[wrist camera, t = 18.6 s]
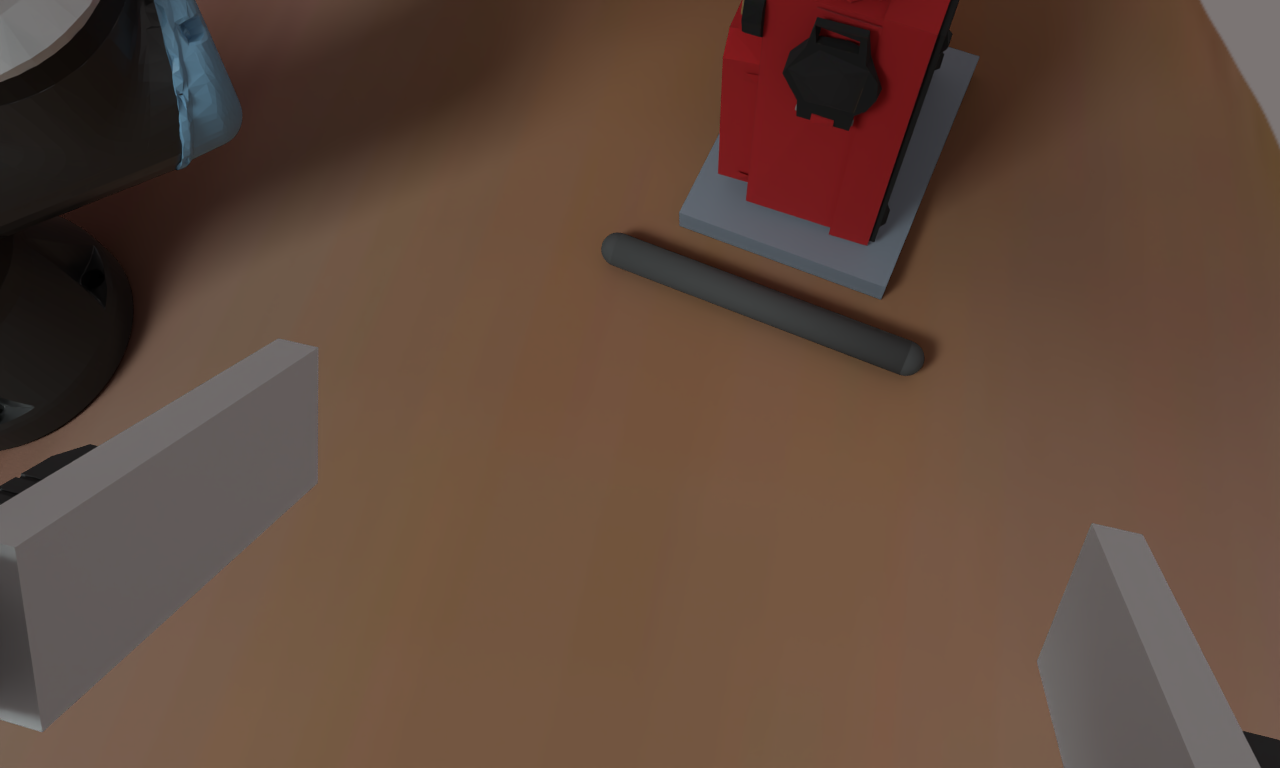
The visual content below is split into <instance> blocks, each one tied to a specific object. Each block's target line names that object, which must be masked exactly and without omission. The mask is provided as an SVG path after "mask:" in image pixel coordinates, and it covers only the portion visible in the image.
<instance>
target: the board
mask: <svg viewBox="0 0 1280 768" xmlns="http://www.w3.org/2000/svg"><path fill="white" fill-rule="evenodd" d="M943 53H944V58H943V61H942V64H941V67H940V69H937V70H935V71H934V74H933V77H932V80H931V83H930V85H929V88H928V91H927V94H926V97H925V100H924V103H923V105H922V108H921V111H920V114H919V117H918V120H917V122H916V125H915V128H914V131H913V134H912V137H911V139H910V142H909V145H908V148H907V151H906V154H905V157H904V159H903V162H902V165H901V168H900V171H899V174H898V176H897V179H896V182H895V185H894V188H893V191H892V194H891V196H890V199H889V202H888V206H889V209H890V212H889V215H888V218H887V221H886V224H884V225H882V226H880V228H879V230H878V233H877V236H876V239H875V242H871V241H869V242H868V245H867V246H866V245H862V244H859V243H856V242H852V241H849V240H846V239H842V238H839V237H836V236H832V235H829V231H830V227H827V226H823V225H820V224H817V223H814V222H811V221H808V220H805V219H801V218H798V217H795V216H792V215H789V214H786V213H783V212H780V211H776V210H773V209H770V208H767V207H764V206H761V205H758V204H755V203H751V202H748V201H746V194H747V184H748V182H745V181H741V180H738V179H734V178H731V177H727V176H724V175H721V174H718V161H719V138H720V133H719V135H718V137H717V139H716V141H715V143H714V145H713V147H712V149H711V151H710V153H709V155H708V157H707V159H706V161H705V163H704V165H703V167H702V169H701V171H700V173H699V175H698V177H697V179H696V181H695V183H694V185H693V187H692V189H691V191H690V193H689V195H688V196H687V198H686V200H685V202H684V204H683V206H682V208H681V210H680V212H679V222H680V226H682V227H684V228H687V229H690V230H693V231H695V232H698V233H701V234H704V235H706V236H709V237H712V238H714V239H717V240H720V241H723V242H725V243H728V244H731V245H733V246H736V247H739V248H742V249H744V250H747V251H750V252H753V253H755V254H758V255H761V256H763V257H766V258H769V259H772V260H774V261H777V262H780V263H783V264H785V265H788V266H791V267H793V268H796V269H799V270H802V271H804V272H807V273H810V274H813V275H815V276H818V277H821V278H823V279H826V280H829V281H832V282H834V283H837V284H840V285H843V286H845V287H848V288H851V289H853V290H856V291H859V292H862V293H864V294H867V295H870V296H872V297H875V298H878V299H881V298H882V296H883V293H884V291H885V288H886V286H887V283H888V281H889V279H890V276H891V274H892V271H893V269H894V266H895V264H896V261H897V259H898V256H899V254H900V252H901V249H902V247H903V244H904V242H905V239H906V237H907V234H908V232H909V229H910V227H911V224H912V222H913V220H914V217H915V215H916V212H917V210H918V207H919V205H920V202H921V200H922V197H923V195H924V192H925V190H926V188H927V185H928V183H929V180H930V178H931V175H932V173H933V170H934V168H935V165H936V163H937V161H938V158H939V156H940V153H941V151H942V148H943V146H944V143H945V141H946V138H947V136H948V133H949V131H950V129H951V126H952V124H953V121H954V119H955V116H956V114H957V111H958V109H959V106H960V104H961V101H962V99H963V97H964V94H965V92H966V89H967V87H968V84H969V82H970V79H971V77H972V74H973V72H974V70H975V67H976V65H977V62H978V60H979V57H980V56H977V55H973V54H970V53H967V52H964V51H960V50H957V49H954V48H951V47H948V48H947V50H945V51H944V52H943Z"/></svg>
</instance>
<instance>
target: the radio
mask: <svg viewBox="0 0 1280 768" xmlns="http://www.w3.org/2000/svg"><path fill="white" fill-rule="evenodd" d="M958 2H959V0H742V1H741V3H740V6H739V8H738V10H737V12H736V15H735V17H734V19H733V21H732V23H731V26H730V29H729V33H728V38H727V42H726V46H725V51H724V55H723V68H722V91H721V114H720V138H719V161H718V174H721V175H724V176H727V177H731V178H734V179H738V180H741V181H745V182H748V184H747V194H746V201H748V202H751V203H755V204H758V205H761V206H764V207H767V208H770V209H773V210H776V211H780V212H783V213H786V214H789V215H792V216H795V217H798V218H801V219H805V220H808V221H811V222H814V223H817V224H820V225H823V226H827V227H830V231H829V235H832V236H836V237H839V238H842V239H846V240H849V241H852V242H856V243H859V244H862V245H866V246H867V245H868V242H869V241H871V242H875V239H876V236H877V233H878V230H879V228H880V226H882V225H884V224H886V221H887V218H888V215H889V212H890V209H889V206H888V202H889V199H890V196H891V194H892V191H893V188H894V185H895V182H896V179H897V176H898V174H899V171H900V168H901V165H902V162H903V159H904V157H905V154H906V151H907V148H908V145H909V142H910V139H911V137H912V134H913V131H914V128H915V125H916V122H917V120H918V117H919V114H920V111H921V108H922V105H923V103H924V100H925V97H926V94H927V91H928V88H929V85H930V83H931V80H932V77H933V74H934V71H935V70H937V69H940V67H941V64H942V61H943V58H944V53H943V52H944V51H945V50H947V48H948V46H949V43H950V40H951V37H952V33H951V32H950V30H949V28H950V25H951V22H952V20H953V17H954V14H955V11H956V8H957V5H958Z"/></svg>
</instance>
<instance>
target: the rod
mask: <svg viewBox="0 0 1280 768" xmlns="http://www.w3.org/2000/svg"><path fill="white" fill-rule="evenodd" d="M601 251H602V255H603V257H604V259H605V260H606V261H607V262H608V263H609V264H611V265H613V266H616V267H619V268H621V269H624V270H626V271H629V272H632V273H634V274H637V275H640V276H642V277H645V278H647V279H650V280H653V281H655V282H658V283H661V284H663V285H666V286H668V287H671V288H674V289H676V290H679V291H681V292H684V293H687V294H689V295H692V296H695V297H697V298H700V299H702V300H705V301H708V302H710V303H713V304H716V305H718V306H721V307H723V308H726V309H729V310H731V311H734V312H737V313H739V314H742V315H744V316H747V317H750V318H752V319H755V320H758V321H760V322H763V323H765V324H768V325H771V326H773V327H776V328H778V329H781V330H784V331H786V332H789V333H792V334H794V335H797V336H799V337H802V338H805V339H807V340H810V341H813V342H815V343H818V344H820V345H823V346H826V347H828V348H831V349H834V350H836V351H839V352H841V353H844V354H847V355H849V356H852V357H854V358H857V359H860V360H862V361H865V362H868V363H870V364H873V365H875V366H878V367H881V368H883V369H886V370H889V371H891V372H894V373H896V374H899V375H903V376H908V375H912V374H915V373H916V372H918V371H919V370H920V369H921V367H922V365H923V363H924V353H923V351H922V349H921V347H920V346H919V345H918V344H916V343H914V342H912V341H910V340H907V339H904V338H902V337H899V336H896V335H894V334H891V333H888V332H886V331H883V330H880V329H878V328H875V327H872V326H870V325H867V324H864V323H862V322H859V321H856V320H854V319H851V318H848V317H846V316H843V315H840V314H837V313H835V312H832V311H829V310H827V309H824V308H821V307H819V306H816V305H813V304H811V303H808V302H805V301H803V300H800V299H797V298H795V297H792V296H789V295H787V294H784V293H781V292H779V291H776V290H773V289H771V288H768V287H765V286H763V285H760V284H757V283H754V282H752V281H749V280H746V279H744V278H741V277H738V276H736V275H733V274H730V273H728V272H725V271H722V270H720V269H717V268H714V267H712V266H709V265H706V264H704V263H701V262H698V261H696V260H693V259H690V258H688V257H685V256H682V255H679V254H677V253H674V252H671V251H669V250H666V249H663V248H661V247H658V246H655V245H653V244H650V243H647V242H645V241H642V240H639V239H637V238H634V237H631V236H629V235H626V234H623V233H613V234H610V235H609V236H607V237H606V238H605V240H604V241H603V243H602V247H601Z"/></svg>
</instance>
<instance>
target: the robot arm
mask: <svg viewBox="0 0 1280 768" xmlns="http://www.w3.org/2000/svg"><path fill="white" fill-rule="evenodd" d="M241 123H242V108H241V105H240V102H239V99H238V97H237V95H236V92H235V90H234V88H233V85H232V83H231V81H230V78H229V76H228V74H227V71H226V69H225V67H224V65H223V62H222V60H221V58H220V55H219V53H218V51H217V49H216V46H215V44H214V42H213V39H212V37H211V35H210V33H209V30H208V28H207V26H206V24H205V21H204V19H203V17H202V15H201V12H200V10H199V8H198V5H197V3H196V1H195V0H0V451H1V450H5V449H10V448H13V447H17V446H20V445H23V444H26V443H29V442H31V441H34V440H36V439H39V438H41V437H43V436H45V435H47V434H49V433H50V432H52V431H54V430H56V429H57V428H59V427H60V426H62V425H63V424H65V423H66V422H68V421H69V420H71V419H72V418H73V417H75V416H76V415H77V414H78V413H79V412H81V411H82V410H83V409H84V408H85V407H86V406H87V405H88V404H89V403H90V402H91V401H92V400H93V399H94V398H95V397H96V396H97V395H98V394H99V392H100V391H101V390H102V389H103V388H104V386H105V385H106V384H107V382H108V381H109V379H110V378H111V376H112V375H113V373H114V372H115V370H116V368H117V366H118V365H119V363H120V361H121V359H122V357H123V354H124V352H125V349H126V347H127V344H128V340H129V337H130V333H131V328H132V321H133V300H132V293H131V288H130V285H129V282H128V279H127V277H126V274H125V272H124V270H123V269H122V267H121V265H120V264H119V262H118V261H117V260H116V259H115V257H114V256H113V255H112V254H111V253H110V252H109V251H108V250H107V249H106V248H105V247H103V246H102V245H101V244H100V243H99V242H98V241H97V240H96V239H94V238H93V237H92V236H91V235H90V234H89V233H87V232H86V231H85V230H83V229H82V228H80V227H79V226H77V225H75V224H74V223H72V222H70V221H68V220H66V219H64V218H62V217H59V215H61V214H64V213H66V212H69V211H72V210H74V209H77V208H79V207H82V206H84V205H87V204H89V203H92V202H94V201H97V200H99V199H102V198H104V197H107V196H109V195H112V194H114V193H117V192H119V191H122V190H124V189H127V188H130V187H132V186H135V185H137V184H140V183H142V182H145V181H147V180H150V179H152V178H155V177H157V176H160V175H162V174H165V173H167V172H170V171H172V170H180V169H183V168H185V167H187V166H188V165H189V163H190V162H191V160H192V159H194V158H197V157H199V156H201V155H203V154H205V153H207V152H209V151H211V150H213V149H215V148H217V147H220V146H222V145H224V144H226V143H227V142H229V141H230V140H232V139H233V138H234V137H235V136H236V134H237V133H238V131H239V129H240V127H241ZM317 483H318V347H314V346H309V345H305V344H301V343H296V342H292V341H287V340H283V339H279V338H278V339H277V340H275V341H273V342H272V343H270V344H268V345H267V346H265V347H263V348H262V349H260V350H258V351H257V352H255V353H253V354H252V355H250V356H248V357H247V358H245V359H243V360H241V361H240V362H238V363H236V364H235V365H233V366H231V367H230V368H228V369H226V370H225V371H223V372H221V373H220V374H218V375H216V376H215V377H213V378H211V379H210V380H208V381H206V382H205V383H203V384H201V385H200V386H198V387H196V388H195V389H193V390H191V391H190V392H188V393H186V394H185V395H183V396H181V397H180V398H178V399H176V400H175V401H173V402H171V403H170V404H168V405H166V406H165V407H163V408H161V409H160V410H158V411H156V412H155V413H153V414H151V415H150V416H148V417H146V418H145V419H143V420H141V421H140V422H138V423H136V424H135V425H133V426H131V427H130V428H128V429H126V430H125V431H123V432H121V433H120V434H118V435H116V436H115V437H113V438H111V439H110V440H108V441H106V442H105V443H103V444H101V445H100V446H95V445H91V444H89V445H86V446H83V447H80V448H77V449H73V450H70V451H67V452H64V453H61V454H58V455H54V456H51V457H50V458H48V459H46V460H44V461H43V462H41V463H39V464H37V465H36V466H34V467H32V468H31V469H29V470H27V471H25V472H24V473H22V474H21V477H20V478H17V477H15V478H13V479H11V480H10V481H8V482H6V483H5V484H3V485H1V486H0V720H3V721H7V722H10V723H13V724H17V725H20V726H23V727H27V728H30V729H33V730H37V731H40V732H43V731H44V730H45V729H46V728H48V727H49V726H50V725H51V724H52V723H53V722H54V721H55V720H56V719H57V718H59V717H60V716H61V715H62V714H63V713H64V712H65V711H66V710H67V709H69V708H70V707H71V706H72V705H73V704H74V703H75V702H76V701H77V700H78V699H80V698H81V697H82V696H83V695H84V694H85V693H86V692H87V691H88V690H89V689H91V688H92V687H93V686H94V685H95V684H96V683H97V682H98V681H99V680H101V679H102V678H103V677H104V676H105V675H106V674H107V673H108V672H109V671H110V670H112V669H113V668H114V667H115V666H116V665H117V664H118V663H119V662H120V661H122V660H123V659H124V658H125V657H126V656H127V655H128V654H129V653H130V652H131V651H133V650H134V649H135V648H136V647H137V646H138V645H139V644H140V643H141V642H142V641H144V640H145V639H146V638H147V637H148V636H149V635H150V634H151V633H152V632H154V631H155V630H156V629H157V628H158V627H159V626H160V625H161V624H162V623H163V622H165V621H166V620H167V619H168V618H169V617H170V616H171V615H172V614H173V613H175V612H176V611H177V610H178V609H179V608H180V607H181V606H182V605H183V604H184V603H186V602H187V601H188V600H189V599H190V598H191V597H192V596H193V595H194V594H195V593H197V592H198V591H199V590H200V589H201V588H202V587H203V586H204V585H205V584H207V583H208V582H209V581H210V580H211V579H212V578H213V577H214V576H215V575H216V574H218V573H219V572H220V571H221V570H222V569H223V568H224V567H225V566H226V565H228V564H229V563H230V562H231V561H232V560H233V559H234V558H235V557H236V556H237V555H239V554H240V553H241V552H242V551H243V550H244V549H245V548H246V547H247V546H248V545H250V544H251V543H252V542H253V541H254V540H255V539H256V538H257V537H258V536H260V535H261V534H262V533H263V532H264V531H265V530H266V529H267V528H268V527H269V526H271V525H272V524H273V523H274V522H275V521H276V520H277V519H278V518H279V517H281V516H282V515H283V514H284V513H285V512H286V511H287V510H288V509H289V508H290V507H292V506H293V505H294V504H295V503H296V502H297V501H298V500H299V499H300V498H301V497H303V496H304V495H305V494H306V493H307V492H308V491H309V490H310V489H311V488H313V487H314V486H315V485H316V484H317ZM1037 664H1038V668H1039V671H1040V675H1041V679H1042V683H1043V687H1044V691H1045V695H1046V699H1047V703H1048V707H1049V711H1050V715H1051V719H1052V723H1053V726H1054V730H1055V734H1056V738H1057V742H1058V746H1059V750H1060V754H1061V758H1062V762H1063V766H1064V768H1280V741H1279V740H1277V739H1273V738H1269V737H1265V736H1261V735H1257V734H1253V733H1249V732H1245V731H1242V730H1241V728H1240V726H1239V724H1238V722H1237V720H1236V718H1235V716H1234V714H1233V712H1232V710H1231V708H1230V706H1229V704H1228V702H1227V700H1226V698H1225V696H1224V694H1223V692H1222V690H1221V688H1220V686H1219V684H1218V682H1217V680H1216V678H1215V676H1214V674H1213V672H1212V671H1211V669H1210V667H1209V665H1208V663H1207V661H1206V659H1205V657H1204V655H1203V653H1202V651H1201V649H1200V647H1199V645H1198V643H1197V641H1196V639H1195V637H1194V635H1193V633H1192V631H1191V629H1190V627H1189V625H1188V623H1187V621H1186V619H1185V617H1184V615H1183V613H1182V611H1181V609H1180V607H1179V605H1178V603H1177V601H1176V599H1175V597H1174V596H1173V594H1172V592H1171V590H1170V588H1169V586H1168V584H1167V582H1166V580H1165V578H1164V576H1163V574H1162V572H1161V570H1160V568H1159V566H1158V564H1157V562H1156V560H1155V558H1154V556H1153V554H1152V552H1151V550H1150V548H1149V546H1148V544H1147V542H1146V540H1145V538H1144V536H1143V535H1142V534H1138V533H1133V532H1129V531H1125V530H1120V529H1116V528H1111V527H1107V526H1102V525H1098V524H1094V523H1092V524H1091V526H1090V529H1089V531H1088V534H1087V536H1086V539H1085V541H1084V544H1083V546H1082V549H1081V551H1080V554H1079V556H1078V559H1077V561H1076V564H1075V567H1074V569H1073V572H1072V574H1071V577H1070V579H1069V582H1068V584H1067V587H1066V589H1065V592H1064V594H1063V597H1062V599H1061V602H1060V605H1059V607H1058V610H1057V612H1056V615H1055V617H1054V620H1053V622H1052V625H1051V627H1050V630H1049V632H1048V635H1047V637H1046V640H1045V642H1044V645H1043V648H1042V650H1041V653H1040V655H1039V658H1038V660H1037Z"/></svg>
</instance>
